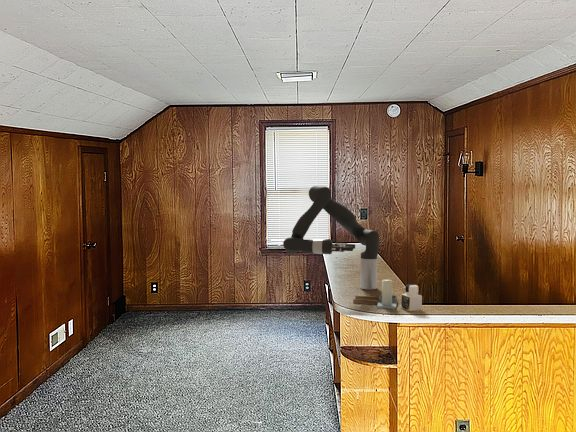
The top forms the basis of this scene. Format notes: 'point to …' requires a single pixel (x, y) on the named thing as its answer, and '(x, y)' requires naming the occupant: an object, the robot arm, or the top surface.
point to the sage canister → (387, 292)
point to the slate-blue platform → (387, 306)
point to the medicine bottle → (411, 298)
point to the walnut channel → (366, 299)
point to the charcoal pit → (394, 299)
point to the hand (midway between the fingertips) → (354, 247)
